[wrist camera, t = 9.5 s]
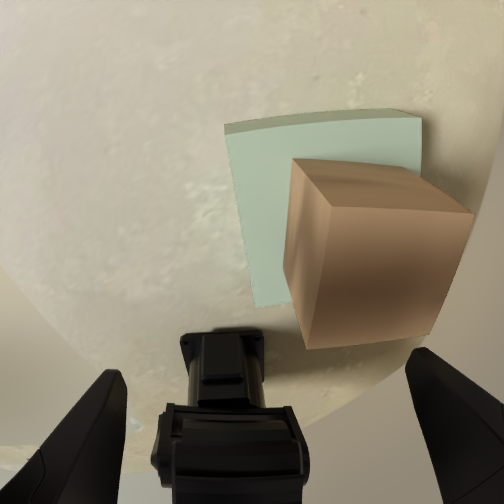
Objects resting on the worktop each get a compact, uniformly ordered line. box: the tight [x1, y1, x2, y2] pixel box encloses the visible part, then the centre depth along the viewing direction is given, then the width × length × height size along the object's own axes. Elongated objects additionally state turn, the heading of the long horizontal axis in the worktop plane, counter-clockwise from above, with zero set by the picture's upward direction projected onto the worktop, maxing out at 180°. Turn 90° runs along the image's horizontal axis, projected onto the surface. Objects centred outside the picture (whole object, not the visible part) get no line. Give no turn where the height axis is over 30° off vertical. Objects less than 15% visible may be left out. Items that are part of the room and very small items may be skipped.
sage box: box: [224, 109, 422, 308], centre depth 18 cm, size 10×10×4 cm
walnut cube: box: [283, 158, 475, 350], centre depth 14 cm, size 6×6×6 cm
